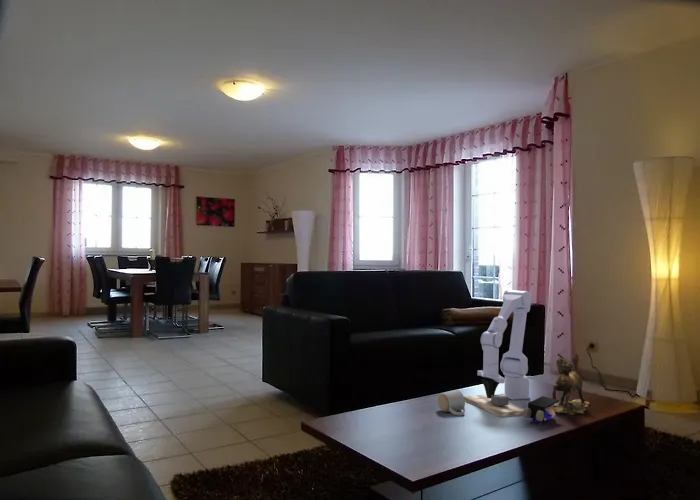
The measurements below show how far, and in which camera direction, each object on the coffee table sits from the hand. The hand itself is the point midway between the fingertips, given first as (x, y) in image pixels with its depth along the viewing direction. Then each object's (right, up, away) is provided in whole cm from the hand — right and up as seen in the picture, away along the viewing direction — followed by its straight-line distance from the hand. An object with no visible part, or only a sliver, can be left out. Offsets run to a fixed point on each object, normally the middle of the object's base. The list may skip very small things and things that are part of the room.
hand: (490, 397), depth 200 cm
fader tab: (+2, -1, -6) cm, 6 cm away
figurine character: (+13, -3, -19) cm, 23 cm away
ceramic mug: (-16, -2, -10) cm, 20 cm away
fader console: (+1, -3, -3) cm, 4 cm away
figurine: (+32, -4, -1) cm, 32 cm away
